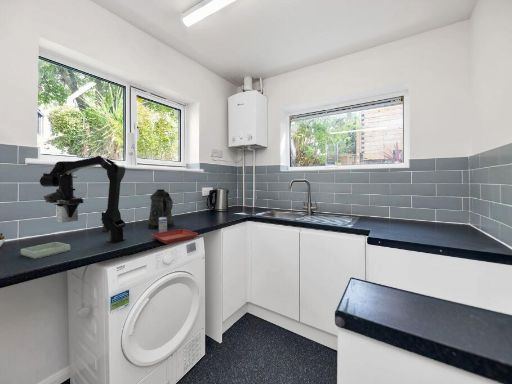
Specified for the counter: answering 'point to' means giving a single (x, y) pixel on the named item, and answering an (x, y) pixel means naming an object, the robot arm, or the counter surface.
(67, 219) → the aluminium block
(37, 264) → the counter surface
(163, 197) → the dark olive backpack
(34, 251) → the tray
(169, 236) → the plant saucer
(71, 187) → the robot arm
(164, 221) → the medicine box
